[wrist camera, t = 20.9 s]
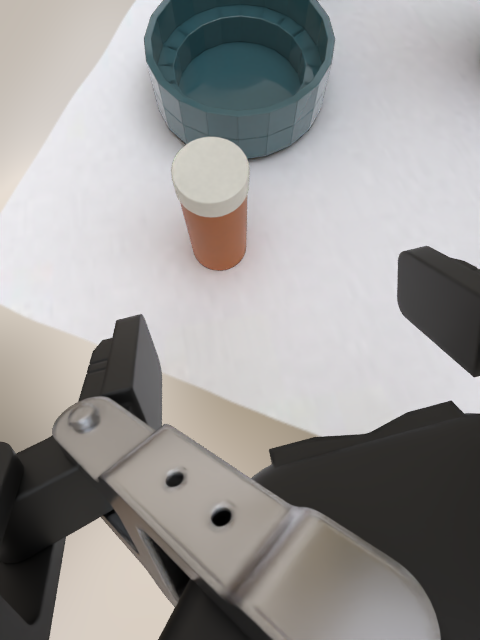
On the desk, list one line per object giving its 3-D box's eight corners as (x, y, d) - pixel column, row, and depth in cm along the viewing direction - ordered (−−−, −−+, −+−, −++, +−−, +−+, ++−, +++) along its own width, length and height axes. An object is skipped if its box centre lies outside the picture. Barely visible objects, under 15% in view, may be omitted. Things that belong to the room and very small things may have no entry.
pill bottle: (220, 211, 34) (212, 122, 24) (258, 246, 33) (265, 169, 23) (180, 245, 33) (154, 168, 23) (218, 283, 32) (208, 218, 22)
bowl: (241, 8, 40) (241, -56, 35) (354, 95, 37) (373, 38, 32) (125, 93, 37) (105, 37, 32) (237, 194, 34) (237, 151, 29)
